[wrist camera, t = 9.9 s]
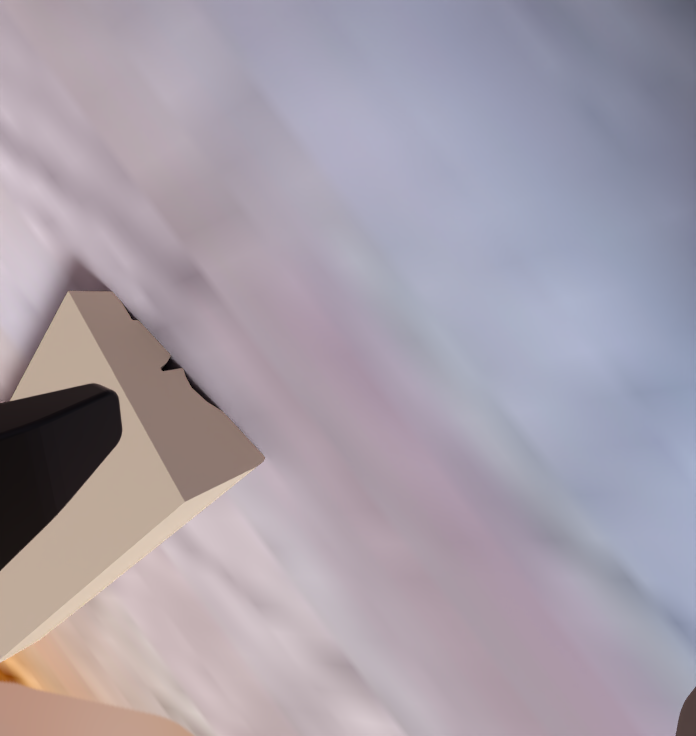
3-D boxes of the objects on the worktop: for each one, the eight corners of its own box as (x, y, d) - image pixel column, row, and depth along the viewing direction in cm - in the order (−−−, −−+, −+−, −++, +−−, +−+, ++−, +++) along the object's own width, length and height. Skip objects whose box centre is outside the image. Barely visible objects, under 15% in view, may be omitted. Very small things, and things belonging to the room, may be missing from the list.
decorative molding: (-3, 521, 52) (52, 632, 50) (-69, 548, 48) (-12, 669, 47) (165, 275, 30) (272, 458, 28) (68, 290, 26) (184, 502, 25)
